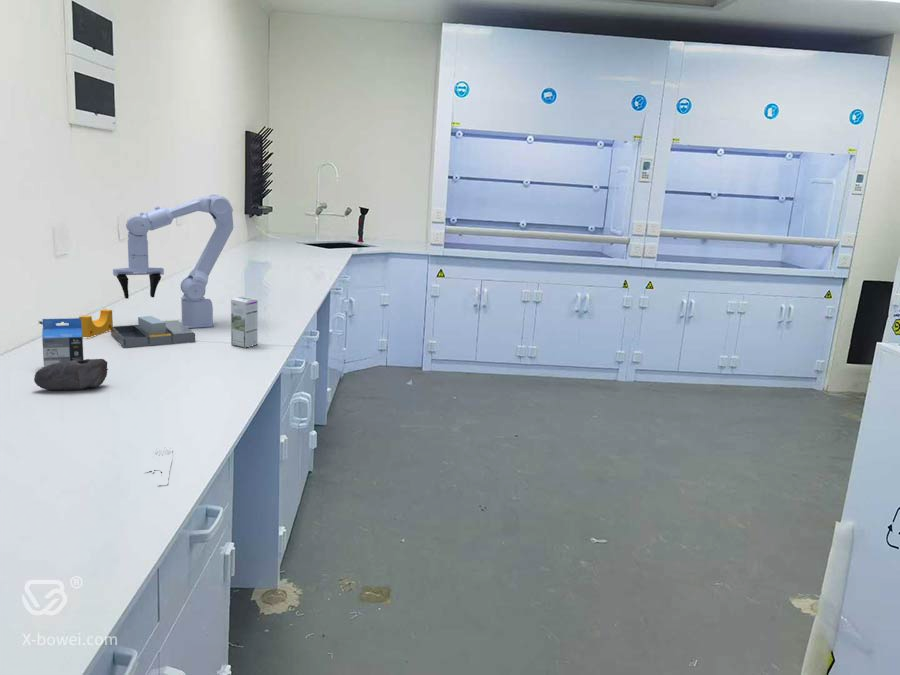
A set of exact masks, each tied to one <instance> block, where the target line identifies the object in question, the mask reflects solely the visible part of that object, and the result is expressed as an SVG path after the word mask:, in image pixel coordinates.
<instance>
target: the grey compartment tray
mask: <svg viewBox="0 0 900 675" xmlns="http://www.w3.org/2000/svg"><path fill="white" fill-rule="evenodd" d="M164 322H166V334H157V335H149V336H148V335H146V334H145V333H144V332H143V331H142V330H141V329H140V328H138V324H132V325H131V324H130V325H129V324H128V325H118V326H116V325H113V327H111V331H110V335H111V337H112V338H113V339H114V340H116V342H117V341H118V342H119V343H120V344H121V347H122V348H124V349H127V348H142V347H150V346H151V347H152V346H164V344H165V345H174V344H175V343H177V344H186V343H187V342H189V343H195V342H196V333H195V332H193V331H192V329H191V328H187V327H186V326H185V325H183V324H182V323H180V322H181V321H179V320H176V319H175V320H164ZM119 343H118V344H119ZM120 344H119V345H120Z"/></svg>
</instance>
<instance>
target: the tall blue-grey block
mask: <svg viewBox="0 0 900 675" xmlns="http://www.w3.org/2000/svg"><path fill="white" fill-rule="evenodd" d="M137 318H138V319H137V325H138V328H140V329H141V330H142V331H143V332H144V333H145V334H146V335H148V336H149V335H157V334H166V322H164V321H165V320H164V321H163V320H161V319H158V318H157V317H154V316H153V315H147V316H138V317H137Z"/></svg>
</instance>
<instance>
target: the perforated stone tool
mask: <svg viewBox="0 0 900 675" xmlns="http://www.w3.org/2000/svg"><path fill="white" fill-rule="evenodd" d="M108 370H109V369H108V361H107V360H106V359H104V358H91V359H90V358H86V359H84V360H73V361H65V362H60V363H55V364H52V365H48V366H46V367H44V366H43V367H42V368H40V369H38V370H37V371H36V372H35V374H34V377H33V378H34V379H33V381H34V383H35V384H36V386H38V387H39V388H41V389H43V390H47V391H48V390H49V391H58V390H62V391H81V390H84V389H88V388H91V389H95V388H99V386H100V385H102V384H103V383H104V381H105V380H106V378H107V377H108Z"/></svg>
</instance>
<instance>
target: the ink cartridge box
mask: <svg viewBox="0 0 900 675" xmlns="http://www.w3.org/2000/svg"><path fill="white" fill-rule="evenodd" d="M61 323H64V324H65V325H61ZM57 324H59V325H57ZM67 324H68V325H67ZM41 332H42V335H41V336H42V338H41V339H42V340H41V341H42V356H43V357H42V358H43V367H46V366H48V365H52V364H55V363H60V362H65V361H73V360H85V359H84V342H83V341H84V338H83V335H82V324H81V318H79V317H77V318H70V317H69V318H42V331H41Z"/></svg>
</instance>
